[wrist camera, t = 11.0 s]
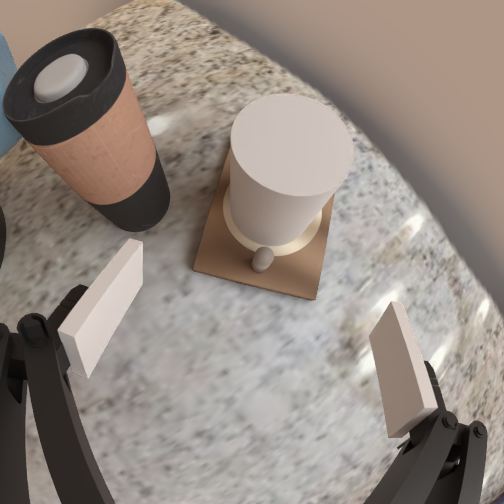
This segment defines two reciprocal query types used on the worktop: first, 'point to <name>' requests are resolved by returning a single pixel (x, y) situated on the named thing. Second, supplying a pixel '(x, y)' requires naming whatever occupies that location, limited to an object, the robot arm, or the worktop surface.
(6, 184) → the worktop surface
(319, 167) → the cup
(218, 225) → the tray
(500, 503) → the flask
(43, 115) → the travel mug
